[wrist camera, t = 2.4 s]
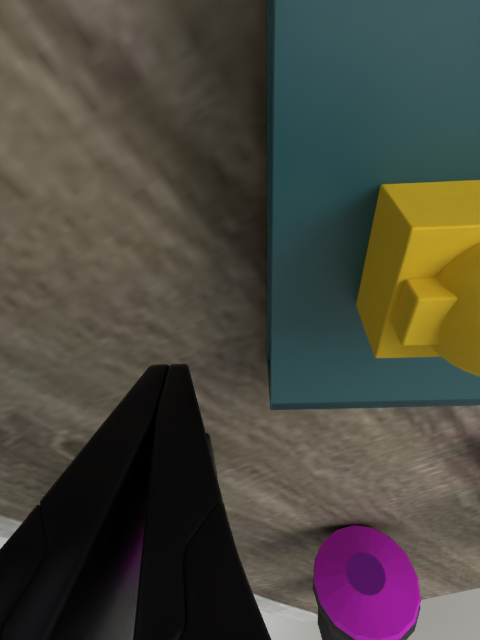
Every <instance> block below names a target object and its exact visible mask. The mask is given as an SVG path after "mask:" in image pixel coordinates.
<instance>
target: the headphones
mask: <svg viewBox="0 0 480 640" xmlns="http://www.w3.org/2000/svg"><path fill="white" fill-rule="evenodd" d="M313 590H314V594H315V597H316V601H317V604H318V626H319V629H320V633H321V637H322V640H406V639H407V638H408V637H409V636H410V635H411V634H412V633H413V632H414V630H415V627H416V623H417V619H418V615H419V611H420V602H421V597H420V590H419V582H418V576H417V574H416V572H415V570H414V568H413V566H412V564H411V562H410V560H409V558H408V556H407V555H406V553H405V552H404V551H403V550H402V549H401V548H400V547H399V546H398V545H397V544H396V543H395V542H394V541H393V540H392V539H391V538H390V537H389V536H387V535H385V534H383V533H381V532H379V531H377V530H375V529H374V528H370V527H362V526H355V525H353V526H350V527H346V528H342V529H339V530H337V531H335V532H334V533H333V534H332V535H331V536H330V537H328V538H327V539H326V540H325V541H324V542H323V543H322V545H321V547H320V549H319V552H318V554H317V556H316V558H315V563H314V578H313Z"/></svg>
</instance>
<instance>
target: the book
mask: <svg viewBox="0 0 480 640" xmlns="http://www.w3.org/2000/svg"><path fill="white" fill-rule="evenodd" d="M466 180H480V0H267V366H268V381H269V396H270V410H302V409H344V408H386V407H428V406H470V405H480V376H477V375H474V374H471V373H468V372H466V371H463V370H461V369H460V368H458V367H456V366H454V365H452V364H451V363H449V362H448V361H446V360H445V359H444V358H443V357H406V358H375V357H374V354H373V351H372V348H371V345H370V343H369V340H368V337H367V334H366V331H365V328H364V326H363V323H362V320H361V317H360V314H359V312H358V309H357V306H356V303H357V298H358V293H359V288H360V283H361V279H362V274H363V269H364V264H365V259H366V254H367V249H368V244H369V239H370V234H371V229H372V224H373V220H374V215H375V210H376V205H377V200H378V195H379V190H380V186H381V185H382V184H400V183H422V182H444V181H466Z"/></svg>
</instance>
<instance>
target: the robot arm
mask: <svg viewBox="0 0 480 640" xmlns="http://www.w3.org/2000/svg"><path fill="white" fill-rule="evenodd" d="M0 640H271V638H270V635H269V633H268V630H267V628H266V626H265V623H264V621H263V618H262V615H261V613H260V610H259V608H258V605H257V603H256V600H255V598H254V595H253V593H252V590H251V588H250V585H249V583H248V580H247V577H246V574H245V572H244V569H243V566H242V563H241V561H240V558H239V555H238V552H237V549H236V546H235V542H234V539H233V536H232V532H231V529H230V525H229V522H228V518H227V514H226V510H225V506H224V503H223V500H222V495H221V492H220V488H219V484H218V480H217V472H216V467H215V461H214V456H213V451H212V446H211V440H210V436H209V435H208V434H207V433H205V429H204V425H203V422H202V418H201V414H200V410H199V406H198V402H197V398H196V394H195V390H194V387H193V383H192V379H191V375H190V371H189V367H188V365H187V364H171V365H170V366H169V365H167V364H158V365H151V366H150V367H149V368H148V369H147V370H146V371H145V372H144V374H143V375H142V376H141V377H140V379H139V380H138V381H137V382H136V383H135V385H134V386H133V387H132V388H131V390H130V391H129V392H128V393H127V395H126V396H125V397H124V398H123V400H122V401H121V402H120V403H119V405H118V406H117V407H116V408H115V409H114V411H113V412H112V413H111V414H110V416H109V417H108V418H107V419H106V421H105V422H104V423H103V424H102V426H101V427H100V428H99V429H98V430H97V432H96V433H95V434H94V435H93V437H92V438H91V439H90V440H89V442H88V443H87V444H86V445H85V447H84V448H83V449H82V450H81V451H80V453H79V454H78V455H77V456H76V458H75V459H74V460H73V461H72V463H71V464H70V465H69V466H68V468H67V469H66V470H65V471H64V472H63V474H62V475H61V476H60V477H59V479H58V480H57V481H56V482H55V484H54V485H53V486H52V487H51V489H50V490H49V491H48V492H47V493H46V495H45V496H44V497H43V498H42V500H41V501H40V505H37V506H36V507H35V508H34V509H33V511H32V512H31V513H30V514H29V515H28V517H27V518H26V519H25V520H24V522H23V523H22V524H21V525H20V526H19V528H18V529H17V530H16V531H15V532H14V534H13V535H12V536H11V537H10V538H9V540H8V541H7V542H6V543H5V544H4V545H3V547H2V548H1V549H0Z"/></svg>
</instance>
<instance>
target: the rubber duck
mask: <svg viewBox="0 0 480 640" xmlns="http://www.w3.org/2000/svg"><path fill="white" fill-rule="evenodd" d="M356 306H357V309H358V312H359V314H360V317H361V320H362V323H363V326H364V328H365V331H366V334H367V337H368V340H369V343H370V345H371V348H372V351H373V354H374V357H375V358H406V357H443V358H444V359H445V360H446V361H448V362H449V363H451V364H452V365H454V366H456V367H458V368H460V369H461V370H463V371H466V372H468V373H471V374H474V375H477V376H480V180H466V181H444V182H422V183H400V184H382V185H381V186H380V190H379V195H378V200H377V205H376V210H375V215H374V220H373V224H372V229H371V234H370V239H369V244H368V249H367V254H366V259H365V264H364V269H363V274H362V279H361V283H360V288H359V293H358V298H357V303H356Z"/></svg>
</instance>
